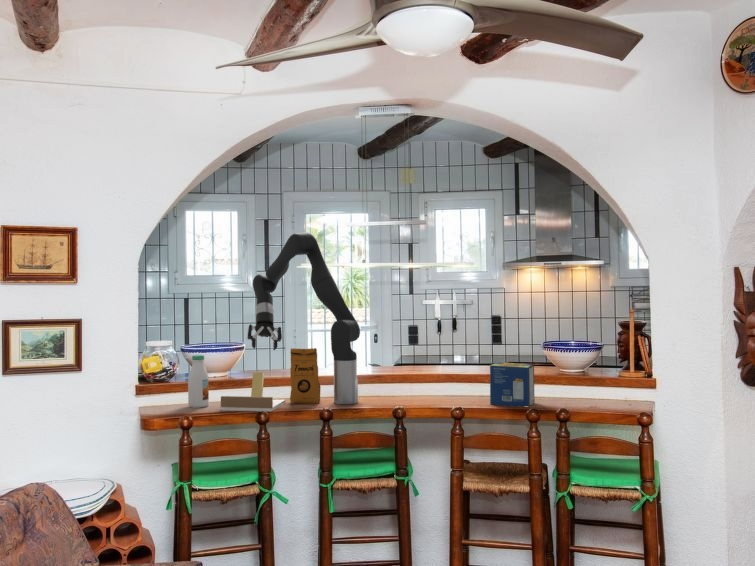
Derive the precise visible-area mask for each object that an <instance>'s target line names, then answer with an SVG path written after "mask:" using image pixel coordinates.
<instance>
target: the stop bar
mask: <svg viewBox="0 0 755 566" xmlns="http://www.w3.org/2000/svg"><path fill="white" fill-rule="evenodd" d="M264 378H265V373H264V372H253V373H252V382H251V396H250V397H263V394H264V392H263V391H264V382H265V381H264V380H265V379H264Z"/></svg>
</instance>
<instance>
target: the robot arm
mask: <svg viewBox="0 0 755 566" xmlns="http://www.w3.org/2000/svg"><path fill="white" fill-rule="evenodd" d="M302 255H303V256H304V255H305V256H306V257H307V259H308V260H309V263H310V266H311V273H310V274H311V275H310V285H311V287H312V289H313V291H314V294H315V295H316V296H317V298H318V300H319V301H320V303H322V304H323V305H324V306H325V307H326V308H327V309H328V310H329V311H330V312H331V313H332V315H333V316H334V319H335V321H334V322H333V324H332V325H331V328H330V345H331V347H330V348H331V353H332V356H333V403H334V404H337V405H352V404H353V405H355V404H356V403H358V401H359V378H358V375H357V372H358V371H357V366H358V365H357V363H358V362H357V361H358V360H357V352H356V351H354V350H353V349H352V344H351V343H353V342H356V341H358V340H359V337H360V335H361V328H360V325H359V323H358V321H357V319H355V317H354V315H353V313H352V312H351V310H350V309H349V307H348V305H347V303H346V302H345V299H344V297H343V296H342V294H341V292H340V289H339V287H338V285H337V284H336V282H335V279H334V278H333V275H332V274H331V272H330V270H329V268H328V265H327V263H326V261H325V259H324V256H323V254H322V252H321V248H320V246H319V243H318V241H317V239H316V237H315V236H314V234H313V233H311V232H305V231H304V232H295V233H293V234H292V235H290V236H289V237H288V239H287V241H286V242H285V244H284V246H283V247H282V249H281V250H280V252H279V254H278V256H277V257H276V259H275V260H273V262H272V263H271V264H270V266H268V268H267V269H266V271H265V275H264V274H256V275H255V276H254V277H253V280H252V289H253V291H254V295H255V298H256V308H255V325H252V324H249V325H248V328H247V338H246V339H247V340H251V347H252V348H253V349H254V350H255V349H256V346H257V343H256V342H257V339H258V337H260V338H261V337H262V338H263V337H265V338H268V337H269V339H270V340H271V341H272V342H273V343H272V344H273V345H272V347H273V351H276V350H277V348H278V343H279V342H281V341H282V339H283V336H282V327H281V326H278V327H275V325H274V305H273V304H274V303H273V302H274V300H273V295H272V294H271V293H273V292H275V290H277V289H276V288H277V286H278V285H279V284H278V283H279V281H280V280H281V279H282V277H284V275H286V273H287V272H288V269H289V267H290V261H291V260H292V259H293V258H294V257H296V256H302ZM253 331H255V334H254V335H252V332H253ZM275 334H276V335H277V336H276V335H275Z"/></svg>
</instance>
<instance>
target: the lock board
mask: <svg viewBox="0 0 755 566" xmlns="http://www.w3.org/2000/svg"><path fill="white" fill-rule="evenodd" d="M284 404H286V399H273V396H262V397H251V396H241V395H238V396H235V395H221V396H220V411H230V412H231V411H232V412H233V411H234V412H235V411H237V412H238V411H239V412H273V411H275V410H276V409H278V408H280V407H281V406H283V405H284Z"/></svg>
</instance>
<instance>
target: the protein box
mask: <svg viewBox="0 0 755 566" xmlns="http://www.w3.org/2000/svg"><path fill="white" fill-rule="evenodd" d="M489 391H490V392H489V404H490V405H492V404H494V405H495V406H504V405H505V406H504V407H507V406H508V407H517V406H529V407H531V406H532V405H533V404H535V403H536V402H535V364H534V363H516V362H515V363H513V362H498V361H497V362H495V363H492V364H490V365H489ZM530 405H531V406H530Z"/></svg>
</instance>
